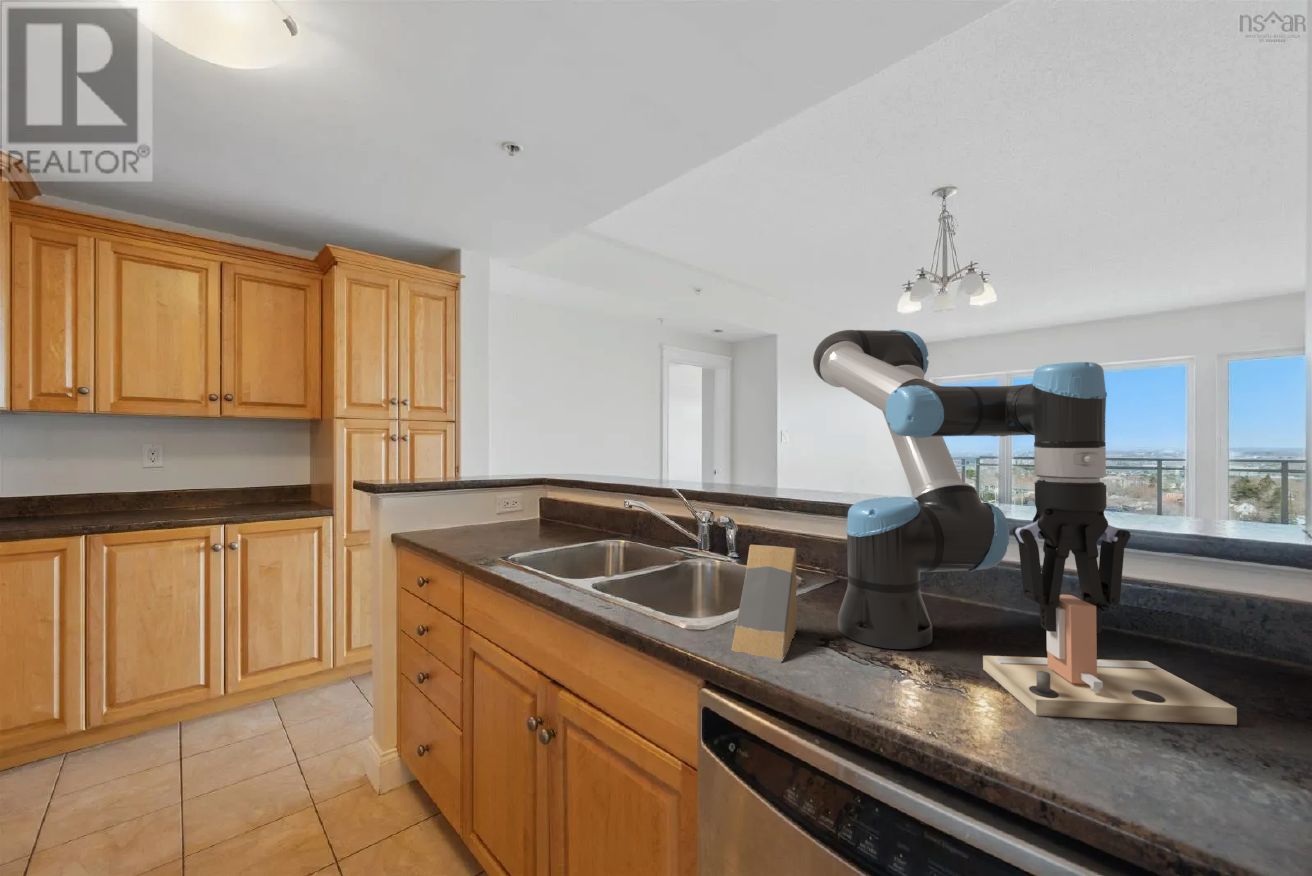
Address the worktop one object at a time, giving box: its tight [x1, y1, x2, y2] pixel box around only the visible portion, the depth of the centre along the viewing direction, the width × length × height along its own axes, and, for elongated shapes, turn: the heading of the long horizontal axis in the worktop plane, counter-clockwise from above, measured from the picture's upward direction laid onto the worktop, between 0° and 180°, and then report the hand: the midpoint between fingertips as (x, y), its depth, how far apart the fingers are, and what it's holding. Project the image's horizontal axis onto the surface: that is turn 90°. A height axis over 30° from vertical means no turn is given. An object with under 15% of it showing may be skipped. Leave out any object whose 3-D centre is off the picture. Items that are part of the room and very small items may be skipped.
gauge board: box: [982, 655, 1238, 726], centre depth 70 cm, size 22×13×4 cm, turn 83°
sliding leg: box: [1046, 594, 1103, 693], centre depth 69 cm, size 3×8×10 cm, turn 173°
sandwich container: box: [730, 544, 797, 660], centre depth 89 cm, size 9×15×15 cm, turn 157°
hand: (1071, 655), depth 70 cm, fingers closed on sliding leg, 3 cm apart
